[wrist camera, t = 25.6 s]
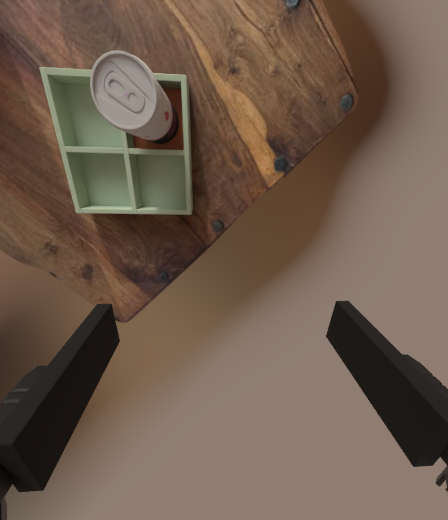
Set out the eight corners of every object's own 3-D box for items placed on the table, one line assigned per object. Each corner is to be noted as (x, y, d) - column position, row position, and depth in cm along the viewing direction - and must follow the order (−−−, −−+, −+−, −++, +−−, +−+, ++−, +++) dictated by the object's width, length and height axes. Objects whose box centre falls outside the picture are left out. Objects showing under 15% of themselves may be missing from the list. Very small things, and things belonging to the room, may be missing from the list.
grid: (189, 84, 33) (186, 74, 30) (193, 210, 41) (191, 214, 38) (58, 78, 32) (38, 66, 28) (88, 208, 40) (76, 213, 36)
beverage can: (148, 85, 33) (103, 28, 19) (186, 114, 34) (170, 82, 21) (130, 127, 35) (77, 102, 21) (166, 152, 36) (140, 145, 23)
